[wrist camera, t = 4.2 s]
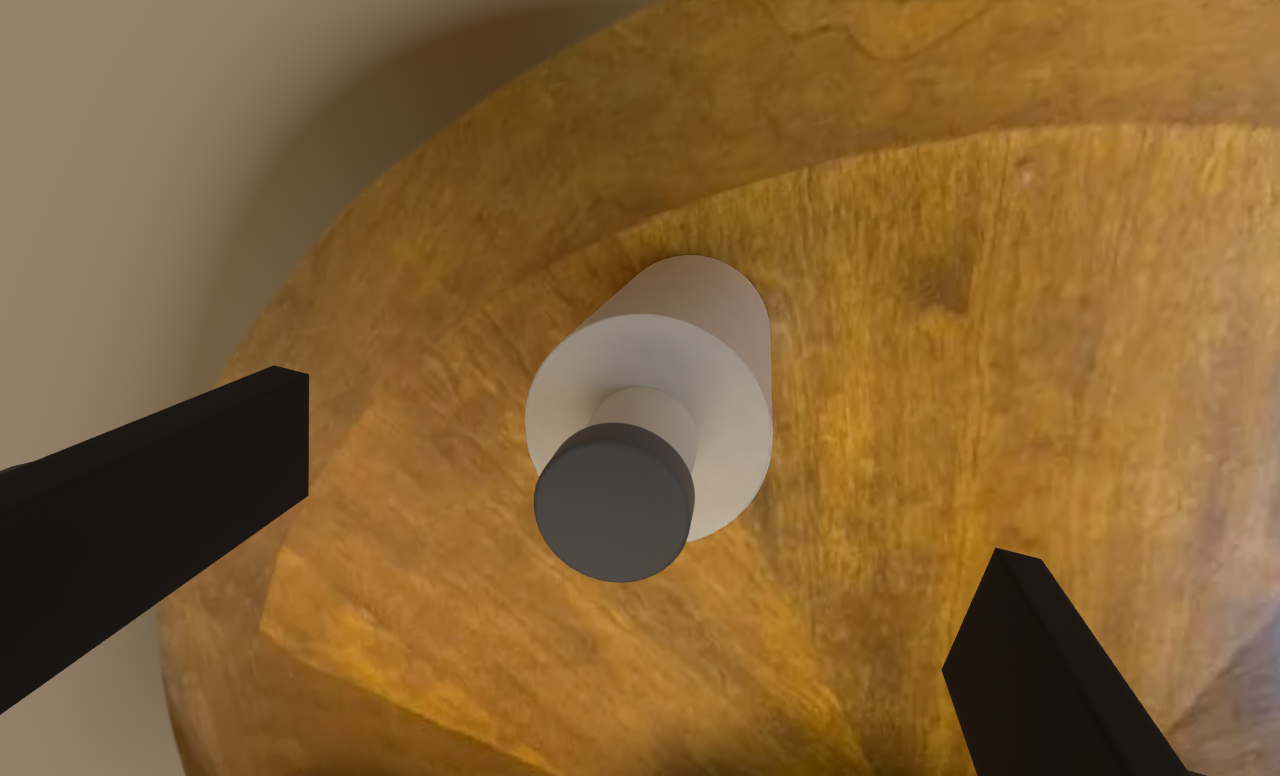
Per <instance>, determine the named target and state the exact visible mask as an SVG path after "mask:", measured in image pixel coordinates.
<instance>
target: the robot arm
mask: <svg viewBox="0 0 1280 776" xmlns="http://www.w3.org/2000/svg"><path fill="white" fill-rule="evenodd" d="M308 478H309V374H306V373H302V372H298V371H294V370H290V369H286V368H282V367H278V366H271V367H269V368H266V369H264V370H261V371H259V372H256V373H254V374H251V375H249V376H246V377H244V378H241V379H239V380H236V381H234V382H231V383H229V384H226V385H224V386H221V387H219V388H216V389H214V390H211V391H209V392H206V393H204V394H201V395H199V396H196V397H194V398H192V399H189V400H186V401H184V402H181V403H179V404H176V405H174V406H171V407H169V408H167V409H164V410H161V411H159V412H156V413H154V414H151V415H149V416H147V417H144V418H141V419H139V420H136V421H134V422H131V423H129V424H126V425H124V426H122V427H119V428H116V429H114V430H111V431H109V432H106V433H104V434H101V435H99V436H96V437H94V438H91V439H89V440H86V441H84V442H81V443H79V444H76V445H74V446H71V447H69V448H66V449H64V450H61V451H59V452H57V453H54V454H51V455H49V456H46V457H44V458H41V459H39V460H36V461H34V462H29V463H25V464H21V465H17V466H13V467H10V468H7V469H5V470H2V471H0V715H1V714H2V713H3V712H5V711H6V710H8V709H9V708H10V707H12V706H13V705H15V704H16V703H18V702H19V701H20V700H22V699H23V698H25V697H26V696H27V695H29V694H30V693H32V692H33V691H34V690H36V689H37V688H39V687H40V686H41V685H43V684H44V683H46V682H47V681H48V680H50V679H51V678H53V677H54V676H55V675H57V674H58V673H60V672H61V671H63V670H64V669H65V668H67V667H68V666H69V665H71V664H72V663H74V662H75V661H77V660H78V659H79V658H81V657H82V656H84V655H85V654H86V653H88V652H89V651H90V650H92V649H93V648H95V647H96V646H97V645H99V644H100V643H102V642H103V641H105V640H106V639H107V638H109V637H110V636H112V635H113V634H114V633H116V632H117V631H119V630H120V629H122V628H123V627H124V626H126V625H127V624H128V623H130V622H131V621H133V620H134V619H136V618H137V617H138V616H140V615H141V614H143V613H144V612H145V611H147V610H148V609H150V608H151V607H152V606H154V605H155V604H157V603H158V602H159V601H161V600H162V599H164V598H165V597H166V596H168V595H169V594H171V593H172V592H173V591H175V590H176V589H178V588H179V587H181V586H182V585H183V584H185V583H186V582H188V581H189V580H190V579H192V578H193V577H195V576H196V575H197V574H199V573H200V572H202V571H203V570H204V569H206V568H207V567H209V566H210V565H211V564H213V563H214V562H216V561H217V560H218V559H220V558H221V557H223V556H224V555H225V554H227V553H228V552H230V551H231V550H233V549H234V548H235V547H237V546H238V545H240V544H241V543H242V542H244V541H245V540H247V539H248V538H249V537H251V536H252V535H254V534H255V533H256V532H258V531H259V530H261V529H262V528H263V527H265V526H266V525H268V524H269V523H270V522H272V521H273V520H275V519H276V518H277V517H279V516H280V515H282V514H283V513H284V512H286V511H287V510H289V509H290V508H292V507H293V506H294V505H296V504H297V503H299V502H300V501H301V500H303V499H304V498H306V497H307V496H308ZM942 673H943V676H944V679H945V682H946V684H947V687H948V690H949V693H950V696H951V699H952V702H953V705H954V708H955V711H956V714H957V717H958V720H959V723H960V725H961V728H962V731H963V734H964V737H965V740H966V743H967V746H968V749H969V752H970V755H971V758H972V761H973V764H974V767H975V769H976V772H977V775H978V776H1206V775H1202V774H1199V773H1195V772H1191V771H1188V770H1187V769H1186V768H1185V766H1184V765H1183V763H1182V762H1181V761H1180V759H1179V758H1178V756H1177V755H1176V753H1175V752H1174V750H1173V749H1172V748H1171V746H1170V745H1169V743H1168V742H1167V740H1166V739H1165V737H1164V736H1163V735H1162V733H1161V732H1160V730H1159V729H1158V727H1157V726H1156V724H1155V723H1154V722H1153V720H1152V719H1151V717H1150V716H1149V714H1148V713H1147V711H1146V710H1145V709H1144V707H1143V706H1142V704H1141V703H1140V701H1139V700H1138V698H1137V697H1136V696H1135V694H1134V693H1133V691H1132V690H1131V688H1130V687H1129V685H1128V684H1127V683H1126V681H1125V680H1124V678H1123V677H1122V675H1121V674H1120V672H1119V671H1118V669H1117V668H1116V667H1115V665H1114V664H1113V662H1112V661H1111V659H1110V658H1109V656H1108V655H1107V654H1106V652H1105V651H1104V649H1103V648H1102V646H1101V645H1100V643H1099V642H1098V641H1097V639H1096V638H1095V636H1094V635H1093V633H1092V632H1091V630H1090V629H1089V628H1088V626H1087V625H1086V623H1085V622H1084V620H1083V619H1082V617H1081V616H1080V615H1079V613H1078V612H1077V610H1076V609H1075V607H1074V606H1073V604H1072V603H1071V602H1070V600H1069V599H1068V597H1067V596H1066V594H1065V593H1064V591H1063V590H1062V589H1061V587H1060V586H1059V584H1058V583H1057V581H1056V580H1055V578H1054V577H1053V575H1052V574H1051V573H1050V571H1049V570H1048V568H1047V567H1046V565H1045V564H1044V562H1043V561H1042V560H1041V559H1039V558H1035V557H1031V556H1027V555H1023V554H1019V553H1015V552H1011V551H1007V550H1003V549H999V548H995V550H994V552H993V555H992V557H991V559H990V561H989V564H988V566H987V568H986V570H985V573H984V575H983V577H982V579H981V582H980V584H979V586H978V589H977V591H976V593H975V595H974V598H973V600H972V602H971V604H970V607H969V609H968V611H967V614H966V616H965V618H964V620H963V623H962V625H961V627H960V629H959V632H958V634H957V636H956V638H955V641H954V643H953V645H952V648H951V650H950V652H949V654H948V657H947V659H946V661H945V663H944V666H943V668H942Z"/></svg>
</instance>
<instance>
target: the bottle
mask: <svg viewBox="0 0 1280 776" xmlns="http://www.w3.org/2000/svg"><path fill="white" fill-rule="evenodd" d="M525 432H526V440H527V445H528V450H529V453H530V456H531V459H532V462H533V465H534V467H535V469H536V471H537V473H538V475H539V479H538V481H537V484H536V488H535V493H534V511H535V517H536V521H537V525H538V527H539V530H540V532H541V534H542V536H543V538H544V540H545V542H546V543H547V545H548V546H549V547H550V549H551V550H552V551H553V552H554V553H555V555H557V556H558V557H559V558H560V559H561V560H562V561H563V562H564V563H566V564H567V565H568V566H570V567H571V568H573V569H574V570H576V571H578V572H580V573H582V574H584V575H586V576H589V577H592V578H595V579H598V580H602V581H607V582H633V581H638V580H642V579H646V578H648V577H651V576H653V575H655V574H657V573H658V572H660V571H662V570H663V569H665V568H666V567H667V566H669V565H670V564H671V563H672V562H673V561H674V560H675V559H676V558H677V556H678V555H679V554H680V552H681V551H682V549H683V547H684V545H685V543H687V542H691V541H694V540H698V539H700V538H703V537H705V536H708V535H710V534H712V533H714V532H716V531H717V530H719V529H721V528H723V527H724V526H726V525H727V524H728V523H730V522H731V521H732V520H734V519H735V518H736V517H737V516H738V515H739V514H740V513H741V512H742V511H743V510H744V509H745V508H746V507H747V506H748V505H749V504H750V502H751V501H752V499H753V498H754V497H755V495H756V494H757V492H758V490H759V488H760V487H761V485H762V483H763V481H764V478H765V475H766V473H767V470H768V467H769V463H770V458H771V453H772V438H773V432H772V389H771V346H770V324H769V318H768V314H767V310H766V308H765V305H764V302H763V300H762V299H761V297H760V295H759V293H758V292H757V290H756V289H755V287H754V286H753V285H752V283H751V282H750V281H749V280H748V279H747V278H746V277H745V276H744V275H742V274H741V273H740V272H739V271H737V270H736V269H735V268H733V267H731V266H730V265H728V264H726V263H724V262H721V261H719V260H717V259H713V258H709V257H705V256H698V255H681V256H674V257H670V258H666V259H663V260H661V261H658V262H656V263H654V264H652V265H650V266H649V267H647V268H645V269H644V270H643V271H641V272H640V273H639V274H637V275H636V276H635V277H634V278H633V279H632V280H631V281H629V282H628V283H627V284H626V285H625V286H624V287H623V288H621V289H620V290H619V291H618V292H617V293H616V294H615V295H613V296H612V297H611V298H610V299H609V300H608V301H607V302H605V303H604V304H603V305H602V306H601V307H600V308H599V309H597V310H596V311H595V312H594V313H593V314H592V315H591V316H589V317H588V318H587V319H586V320H585V321H584V322H583V323H581V324H580V325H579V326H578V327H577V328H576V329H575V330H573V331H572V332H571V333H570V334H569V335H568V336H567V337H565V338H564V339H563V340H562V341H561V342H560V343H559V344H558V345H557V346H556V347H555V348H554V349H553V350H552V351H551V352H550V353H549V354H548V356H547V357H546V358H545V360H544V361H543V363H542V364H541V365H540V367H539V369H538V371H537V373H536V375H535V377H534V379H533V381H532V384H531V387H530V390H529V393H528V398H527V403H526V409H525Z"/></svg>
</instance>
